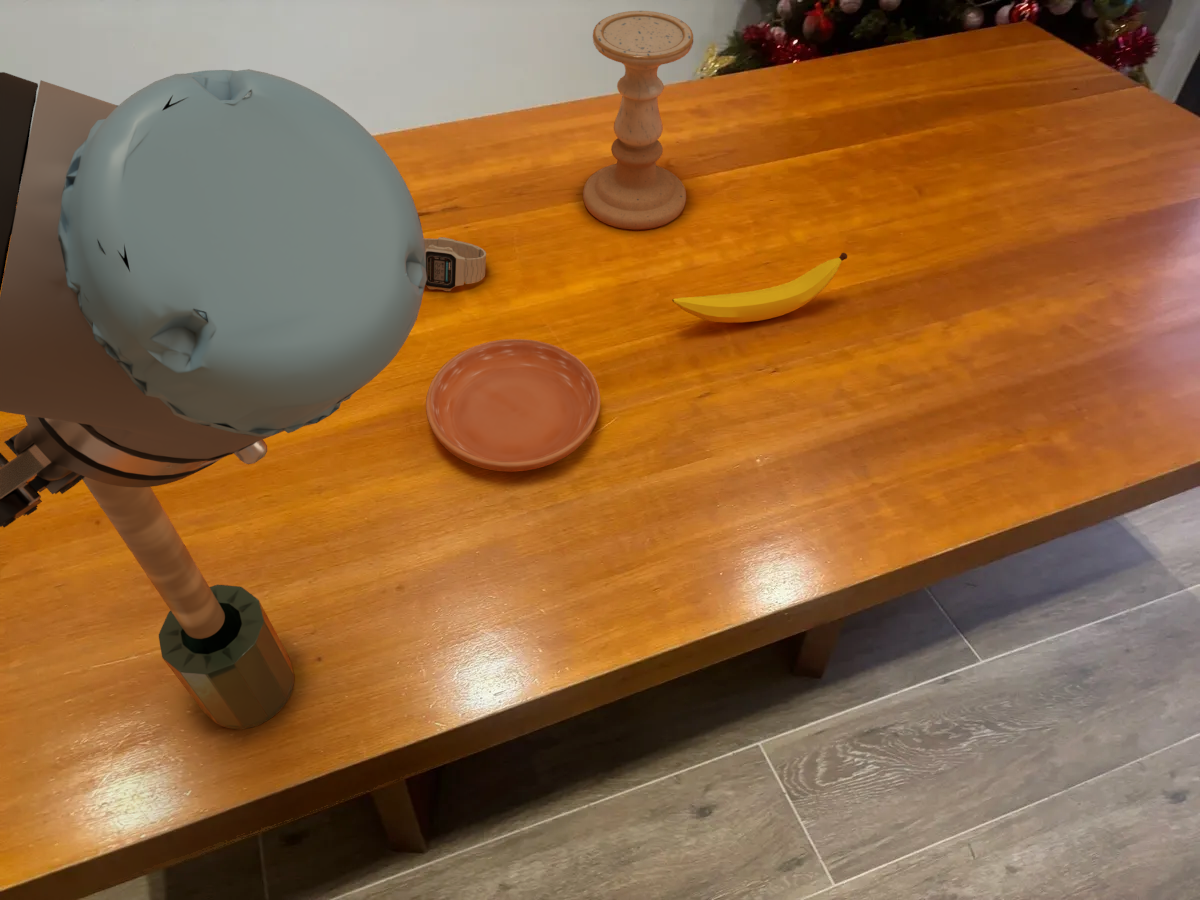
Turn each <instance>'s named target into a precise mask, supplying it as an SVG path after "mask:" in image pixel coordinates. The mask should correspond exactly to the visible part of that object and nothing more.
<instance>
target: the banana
mask: <svg viewBox="0 0 1200 900" xmlns="http://www.w3.org/2000/svg"><path fill="white" fill-rule="evenodd" d="M847 258H848V254H847V253H846V252H841V254H840V256H839V257H836V258H831V259H829V260H826V261H824V262H822V263H819V264H818V265H816V266H815V267H812V268H811V269H810V270H808V271H807V272H804V274H802V275H800V276H798V277H797V278H795V279H792V280H790V281H788V282H785V283H781V284H778V285H775V286H771V287H767V288H763V289H757V290H756V289H755V290H750V291H742V292H734V293H724V294H711V295H701V296H689V297H688V296H683V297H677V298H673V299H671V300H672V303H674V304H675V305H676V306H678V308H679V309H681V310H682V311H685V312H686V313H688V314H690V315H692V316H693V317H697V318H699V319H701V320H704V321H709V322H715V323H751V322H759V321H765V320H769V319H770V320H771V319H774V318H777V317H781V316H784V315H787V314H790V313H791V312H794V311H797V310H798V309H799V308H802V307H803V306H805V305H806V304H808V303H810V302H812V300H814V299H815V298H816V297H817V296H818V295H819V294H821V292H822V291H824V289H825V288H826V287H827V286H828V285H829V284H830V282H831V281H832V280H833V278H834V277H835V276H836V274H837V273H838V270H839V269H840V266H841V264H842V262H843V261H844V260H847Z"/></svg>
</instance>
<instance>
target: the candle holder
mask: <svg viewBox="0 0 1200 900" xmlns="http://www.w3.org/2000/svg"><path fill="white" fill-rule="evenodd" d="M592 32H593V33H592V42H593V43H592V44H593V45H594V47H595V49H596V50H597V51H598V52H599V53H600V54H601V55H602V56H603V57H606V58H608V59H609V60H612V61H614V62H617V63H621V64H622V65H624V75H623V76H621V77H620V78H619V80H618V81H617V84H616V90H617V91H618V93H620V95H621V101H620V105H619V109H618V111H617V114H616V117H615V120H614V122H613V132H614V135H615V137H616V138H615V139H614V141H613V142H612V144H611V150H610V151H611V154H612V156H613V158H615V160H616V163H614V164H610V165H607V166H604V167H602V168H600V169H598V170H597V171H595V172H594V173H592V174H591V175H590V176H589V178H588V179H587V181H586V182H585V184H584V186H583V192H582V196H583V197H582V198H583V204H584V205H585V208H586V209H587V211H588V212H589V213H590V215H592V216H593V217H594V218H596V219H597V220H598V221H600V222H602V223H604V224H606V225H609V226H611V227H615V228H619V229H624V230H634V231H635V230H636V231H637V230H641V231H642V230H649V229H655V228H658V227H662V226H665V225H667V224H669V223H671V222H672V221H674V220H675V219H677V218H678V217H679V216H680V215H681V214H682V212H683V210H684V208H685V206H686V202H687V192H686V187H685V186H684V184H683V182H682V181H681V179H680V178H679V177H678V176H677V175H675V174H674V173H673V172H671V171H670V170H668V169H666V168H664V167H662V166H658V165H657V164H656V163H657V161H659V159H661V157H662V155H663V145H662V144H661V141H659V139H660V137H661V136H662V133H663V129H664V126H663V121H662V117H661V113H660V108H659V101H658V97H660V95H661V94H663V91H664V89H665V88H664V87H665V86H664V83H663V81H662V79H661V78H660V77H659V76H658V69H659V67H660V66H662V65H666V64H667V65H668V64H670V63H673V62H676V61H678V60H681V59H682V58H684V57H685V56H686V55H688V54H689V53H690V51H691V49H692V48H693V44H694V33H693V29H691V27H690V26H689V24H687V23H686V22H685V21H683V20H681V19H680V18H678V17H676V16H673V15H670V14H668V13H664V12H658V11H651V10H629V11H622V12H618V13H614V14H611V15H609V16H607V17H604V18H602V19H601V20H600V21H598V22H597V23H596V25H595V26H594V28H593V31H592Z"/></svg>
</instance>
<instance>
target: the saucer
mask: <svg viewBox="0 0 1200 900" xmlns="http://www.w3.org/2000/svg"><path fill="white" fill-rule="evenodd" d="M427 390H428V391H427V394H426V400H425V410H426V411H425V412H426V416H427V421H428V423H429V425H430V428H431V430H432V432H433V434H434V436H435V437H436V439H437V440H438V442H439V443H440V444H441V445H442V446H443V447H444V448H445V450H447V451H448V452H449V453H451V455H453V456H455V457H456V458H458V459H460V460H462V461H464V462H465V463H468V464H470V465H472V466H475V467H478V468H482V469H486V470H490V471H496V472H523V471H525V472H526V471H531V470H536V469H540V468H543V467H548V466H549V465H552V464H554V463H557V462H560V461H561V460H563V459H565V458H566V457H568V456H569V455H571V454H572V453H574V452H575V451H576V450H577V449H578V448H580V447H581V446H582V445H583V444H584V443H585V442H586V441H587V439H588V438H589V437H590V435H591V434H592V432H593V430H594V429H595V426H596V424H597V421H598V417H599V414H600V410H601V393H600V388H599V384H598V382H597V380H596V377H595V376H594V374H593V373H592V371H591V370H590V369H589V367H588V366H587V365H586V364H585V363H584V362H583V361H582V360H581V359H580V358H578V357H577V356H575V355H574V354H572V353H571V352H569V351H568V350H566V349H564V348H561V347H559V346H557V345H553V344H551V343H548V342H544V341H540V340H534V339H525V338H524V339H523V338H518V339H517V338H506V339H498V340H492V341H488V342H483V343H480V344H477V345H475V346H472V347H469V348H467V349H466V350H463V351H461V352H459V353H458V354H456V355H455V356H453V357H452V358H451V359H449V360H448V361H447V362H446V363H445V364H444V365H443V366H442V367H440V369H439V370H438V371H437V373H436V374H435V376H434V377H433V379H432V380H431V382H430V384H429V387H428V389H427Z"/></svg>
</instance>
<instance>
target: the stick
mask: <svg viewBox="0 0 1200 900" xmlns="http://www.w3.org/2000/svg"><path fill="white" fill-rule="evenodd" d="M81 481H83V483H84V484H85V486H86V487H87V489H88V490H89V492H90V493H91V495H92V496H93V498H94V499H95V501H96V502H97V504H98V506H100V508H101V509H102V511H103V513H104V514H105V516H106V517H107V518H108V520H109V521H110V523H111V525H112V526H113V527H114V529H115V530H116V532H117V533H118V534H119V536H120V538H121V539H122V541H123V542H124V544H125V545H126V547H127V548H128V549H129V551H130V553H131V554H132V555H133V558H135V560H136V561H137V563H138V565H139V566H140V567H141V569H142V571H143V572H144V573H145V574H146V576H147V578H148V579H149V581H150V582H151V584H152V585H153V586H154V588H155V589H156V590H157V593H158V594H159V595H160V597H161V598H162V600H163V602H164V603H165V604H166V606H167V607H168V609H169V611H170V610H171V612H172V613H173V615H174V616H175V617H176V619H177V620H178V622H179V623H180V625H181V626H182V628H183V629H184V631H185V632H186V634H187V635H188V636H190V637H192V638H196V639H203V638H207V637H210V636H212V635H213V634H215V633H216V632H217V631H218V630H219V629H220V628H221V627H222V625H223V623H224V620H225V614H224V611H223V609H222V608H221V606H220V604H219V603H218V601H217V599H216V597H215V596H214V594H213V592H212V591H211V589H210V587H211V586H209V584H208V582H207V581H206V578H205V577H204V576H203V574H202V572H201V570H200V569H199V567H198V565H197V563H196V562H195V560H194V558H193V556H192V554H191V553H190V551H189V550H188V548H187V546H186V545H185V543H184V541H183V539H182V538H181V536H180V534H179V533H178V531H177V529H176V528H175V526H174V524H173V523H172V521H171V519H170V517H169V516H168V514H167V512H166V511H165V509H164V507H163V506H162V504H161V502H160V500H159V499H158V497H157V495H156V493H155V492H154V490H153V488H152V487H122V486H115V485H110V484H106V483H102V482H99V481H96V480H93V479H90V478H87V477H84V478H83V479H82V480H81Z"/></svg>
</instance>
